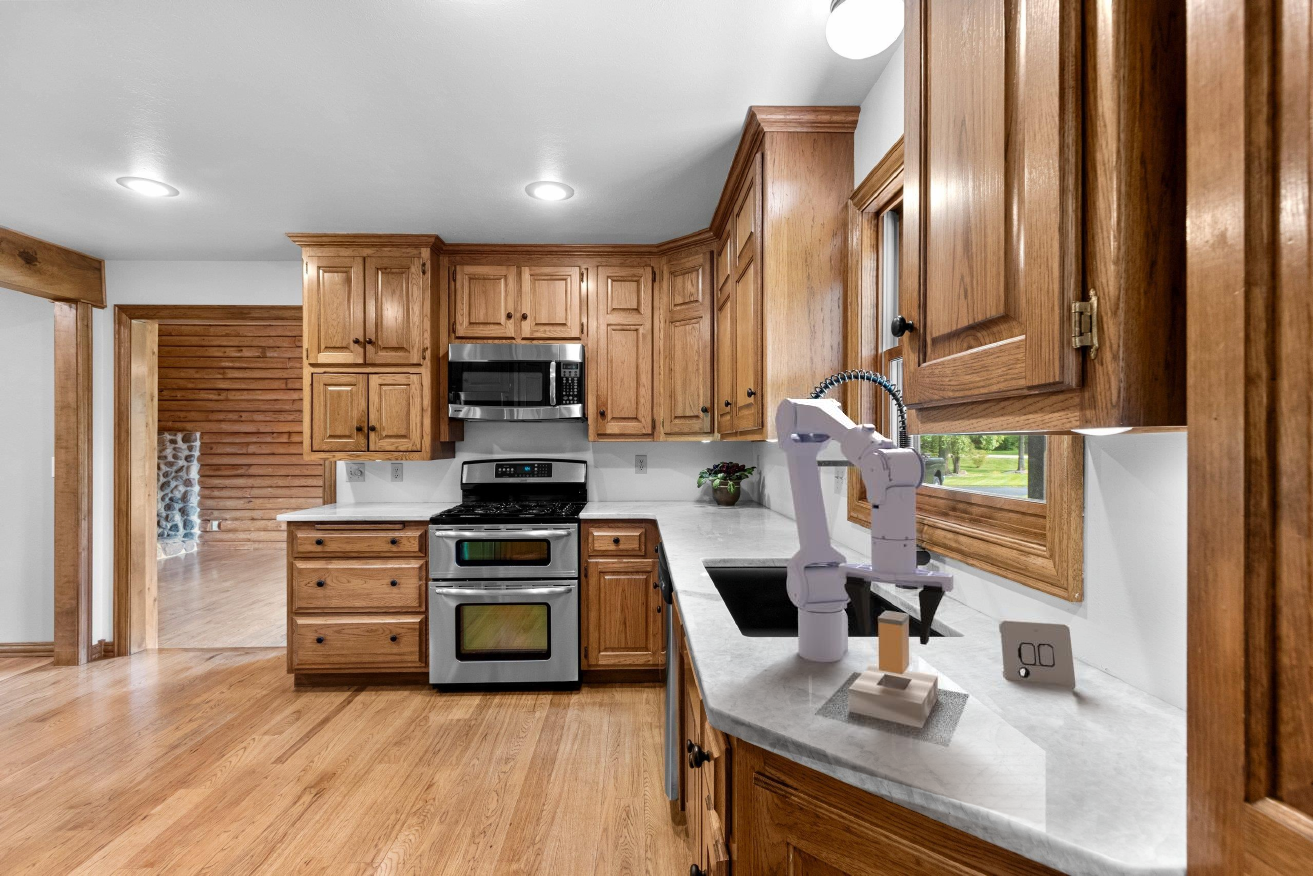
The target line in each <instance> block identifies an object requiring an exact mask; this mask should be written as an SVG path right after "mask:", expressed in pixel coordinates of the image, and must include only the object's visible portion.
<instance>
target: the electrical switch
mask: <svg viewBox="0 0 1313 876" xmlns="http://www.w3.org/2000/svg"><path fill="white" fill-rule="evenodd" d="M998 630H999V634H1000V642H1001V654H1002V655H1001V656H1002V666H1003V667H1002V668H1003V671H1002V677H1003V678H1004V679H1005V680H1012V681H1023V682H1035V683H1048V684H1054V685H1060V686H1066V687H1072V690H1074V689H1076V686H1077V685H1076V678H1075V666H1074V659H1073V648H1072V641H1071V639H1072V638H1071V632H1070V631H1071V630H1070V628H1069V626H1068V625H1066V624H1063V623H1055V622H1054V623H1052V622H1039V621H1038V622H1037V621H1020V620H1018V621H1017V620H1001V621H1000V622H999V623H998ZM1021 670H1024V674H1023V675H1022V674H1021Z"/></svg>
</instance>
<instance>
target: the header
mask: <svg viewBox="0 0 1313 876" xmlns="http://www.w3.org/2000/svg"><path fill="white" fill-rule="evenodd" d="M938 677H939V675H935V674H928V673H924V672H918V671H913V670H907V669H906V670H905V672H904V673H903V674H897V673H892V672H886V671H881V670H879V664H876V663H870V664H869V666H868V667H867V668H866V669H864V671H863V672H862V673H860V672H858V673H857V672H855V671H854V672H853V673H851V675H850V676H849V677H848V678H847V679H846V680H845V682H844V683H842V685H841V686H840V687H839V688H838V689H837V690H836V691H835V692H833V694H832V695H831V696H830V697H829V698H828V699H827V700H826V702H825V703H824V704H823V705H822V706H821V707H820V708H819V709H818V710H817V711H816V713H815V714H816V716H819V714H820V715H823V713H824V715H823V718H825V719H826V718H827V719H829V718H831V719H832V720H834V721H835V720H836V721H840V722H842V723H844V722H845V723H848V724H852V725H856V726H860V727H863V728H865V724H866V727H868V728H869V729H874V730H877V731H880V732H884V733H888V734H889V733H890V734H895V732H896V736H902V735H903V737H905V738H906V737H908V738H909V739H914V740H918V741H919V739H920V736H919V735H918V734H922V741H923V742H926V743H932V744H935V745H938V744H939V742H940V744H941V745H944V747H947V748H948V745H950V743H951V742H952V741H951V740H952V738H953V736H952V734H954V733H955V731H956V728H957V726H958V725H957V724H958V723H959V721H960V718H961V715H962V714H963V712H964V709H965V706H966V704H967V700H968V699H969V696H970V694H968V693H967V694H966V693H962V692H959V694H957V692H956V691H952V690H948V689H946V690H944V689H943V688H939V685H938V684H939V682H938V681H939V679H938ZM948 699H950V700H949V702H948ZM847 700H848V702H847ZM957 701H958V702H957ZM837 702H840V703H837ZM831 703H833V704H831ZM956 704H957V706H956ZM950 713H951V714H950ZM958 713H959V715H956V714H958ZM837 714H838V716H837ZM931 714H932V715H931ZM938 714H942V715H938ZM948 714H949V715H948ZM947 718H948V719H949V721H948V719H947ZM873 719H874V720H873ZM861 720H863V721H861ZM878 721H879V722H878ZM942 721H943V722H942ZM874 723H875V724H874ZM948 724H949V725H948ZM878 725H880V726H879V727H878ZM893 725H895V726H893ZM930 726H932V727H930ZM951 727H952V728H951ZM902 729H903V731H902ZM921 729H922V731H921ZM914 732H916V733H914ZM942 733H943V734H942ZM930 734H931V736H930ZM948 735H949V736H948ZM914 736H915V737H914ZM941 737H943V739H941ZM948 739H949V740H948ZM933 741H934V742H933Z"/></svg>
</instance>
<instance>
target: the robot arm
mask: <svg viewBox="0 0 1313 876" xmlns="http://www.w3.org/2000/svg"><path fill="white" fill-rule="evenodd" d="M842 407H843V406H842V404H841V403H840V402H838V401H836V399H833V398H827V399H804V398H803V399H802V398H801V399H797V398H796V399H795V398H794V399H791V398H788V397H786V398H783V399H782V400H781V401H780V403H779V404H778V406H777V409H776V413H775V417H774V418H775V419H774V424H775V428H776V436H777V442H778V447H779V450H781V451H783V452H784V453H785V455H786V463H787V468H788V476H789V482H790V489H791V495H792V496H791V497H792V502H793V507H794V516H795V521H796V527H797V528H796V530H797V535H798V541H799V549H798V551H797V552H796V553H795V554H793V556H791V557H790V558H789V560H788V561H787V562H786V569H787V575H786V577H787V578H786V591H787V595H788V597H789V600H790V601H791V602H792V604H793V605H794V606H795V607H797V611H798V613H797V614H798V615H797V617H798V618H797V621H798V622H797V623H798V624H797V625H798V626H797V627H798V631H797V633H798V634H797V635H798V637H797V640H798V647H797V648H798V655H799V656H800V657H801V658H803V659H805V660H808V661H812V662H819V663H831V662H832V663H833V662H838V661H840V660H842V659H843V658H844V654H845V652H847V651H848V649H849V630H848V629H849V625H848V624H849V622H848V621H849V619H848V614H847V613H846V611H845V609H847V608H848V603H849V602H851V605H852V606H853V609H854V611H855V614H856V615H855V616H856V618H857V621H858V624H859V625H858V626H859V629H860V634H861V635H863V636H866V635H868V634H869V633H870V632H871V612H870V610H871V609H870V607H871V606H870V604H871V590H872V588H871V587H872V582H873V583H881V584H882V583H883V584H891V585H899V586H908V587H916V588H923V589H921V590H920V591H919V592H918V602H919V613H920V626H919V644H920V645H925V646H926V645H927V644H929V641H930V634H931V628H932V624H933V621H934V618H935V615H936V613H937V610H938V608H939V605H940V603H941V602H942V599H943V597H944V596H945V593H946V592H949V593H951V592H952V591H953V590H954V574H952V573H945V572H940V571H939V572H938V571H932V570H928V569H927V570H926V569H922V568H921V569H919V568H917V493H916V491H917V490H918V489H919V488H921V487H922V486H923V483H924V481H925V479H926V469H927V468H926V463H925V460H924V458H923V456H922V454H921V453H920V452H919V451H918V450H917V449H916V448H915V447H912V446H911V447H907V446H906V447H903V448H902V447H898V446H897V445H895V444H894V441H893V440H891V439H889V438H886V437H885V436H883V435H882V434H880V433H879V432H877V430H876V426H875V425H873V424H872V423H869V424H868V423H866V424H865V423H862V424H858V425H856V424H855V423H854V422H853V421H852V420H851V419H850V418H849V417H848V416H847V415H845V413H843V408H842ZM832 440H835V441H836V442H837V443H839V446H840V447H839V448H840V452H841V454H842V455H843V457H845V459H847V461H849V462H850V463H852V464H853V465H854V466H855V467H856V468H857V469H858V470H859V471H861V473H860V474H861V479H862V481H863V484H864V486H865V490H866V499H867V502H868V503H870V527H871V528H870V532H871V533H870V537H871V538H870V539H871V541H870V542H871V543H870V544H871V546H870V548H871V550H870V551H871V552H870V553H871V555H870V557H871V558H870V559H871V560H870V561H871V564H865V563H864V564H863V563H862V564H861V563H848V562H847V561H848V560H847V557H846V556H845V555H843V553H841V552H840V551H838V550H837V549H836V548H834V547H833V546H832V545H831V539H830V532H829V525H828V520H827V514H826V509H825V503H824V502H825V501H824V496H823V491H822V484H821V478H820V471H819V466H818V460H817V456H818V454H819V453H820V452H822V451H825V450H826V449H827V448H828V446H830V443H831V441H832ZM811 566H813V567H811ZM814 566H816V567H814Z"/></svg>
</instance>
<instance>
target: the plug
mask: <svg viewBox="0 0 1313 876" xmlns="http://www.w3.org/2000/svg"><path fill="white" fill-rule="evenodd" d="M909 620H910V613H905V612H904V613H903V612H897V611H892V610H885V611H884V612H882V613H881V614H880V615H879V616H878V617H877V622H878V627H877V628H878V665H879V670H881V671H886V672H892V673H897V674H903V673H904V672H905V670H907V669H908V668H909V666H910V635H909V634H910V631H909V630H910V629H909V628H910V626H909V624H910V621H909Z"/></svg>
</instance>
